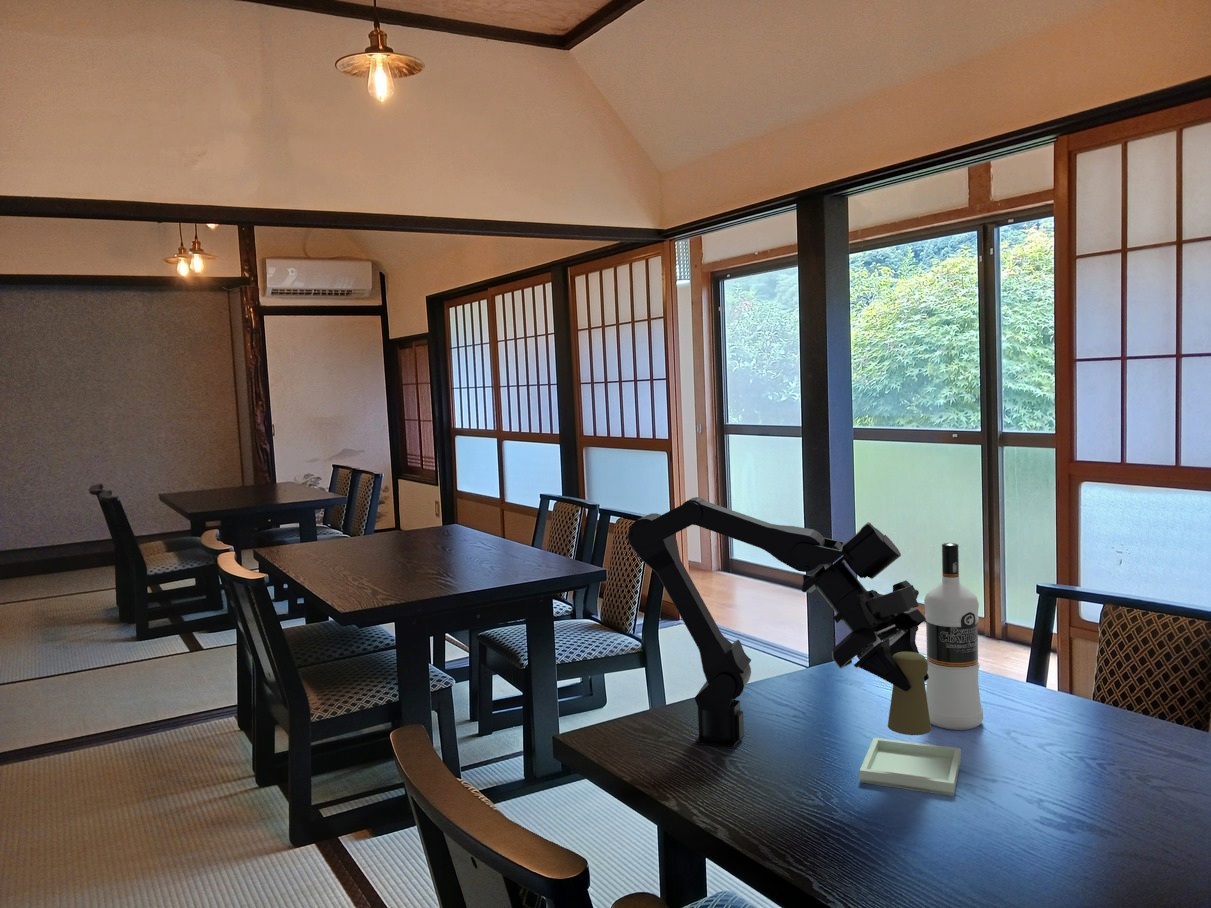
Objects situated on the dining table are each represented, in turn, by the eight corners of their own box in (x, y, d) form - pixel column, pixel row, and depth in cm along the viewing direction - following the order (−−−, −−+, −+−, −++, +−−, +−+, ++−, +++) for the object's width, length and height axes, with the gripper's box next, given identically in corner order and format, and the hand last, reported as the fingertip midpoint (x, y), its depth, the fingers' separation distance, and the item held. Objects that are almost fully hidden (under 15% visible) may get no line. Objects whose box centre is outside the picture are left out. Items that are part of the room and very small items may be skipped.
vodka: (960, 708, 155) (957, 536, 153) (995, 727, 146) (993, 545, 144) (912, 715, 153) (909, 541, 151) (945, 735, 144) (942, 550, 142)
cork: (934, 736, 127) (934, 660, 127) (889, 734, 129) (889, 658, 128) (927, 721, 133) (927, 648, 133) (885, 719, 134) (885, 646, 134)
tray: (860, 782, 129) (859, 770, 128) (874, 748, 140) (873, 737, 140) (954, 796, 123) (953, 783, 123) (960, 760, 134) (960, 748, 134)
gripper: (849, 577, 125) (925, 670, 119) (912, 555, 139) (984, 638, 132) (802, 622, 132) (871, 714, 125) (866, 598, 145) (933, 679, 138)
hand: (917, 684), depth 130 cm, fingers closed on cork, 5 cm apart
